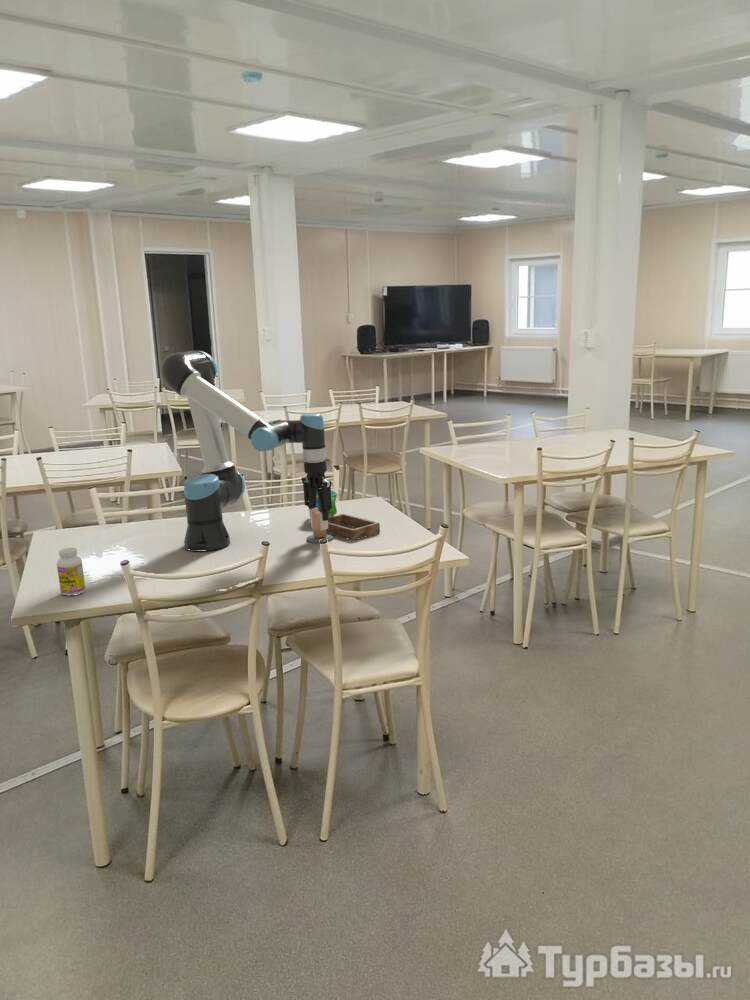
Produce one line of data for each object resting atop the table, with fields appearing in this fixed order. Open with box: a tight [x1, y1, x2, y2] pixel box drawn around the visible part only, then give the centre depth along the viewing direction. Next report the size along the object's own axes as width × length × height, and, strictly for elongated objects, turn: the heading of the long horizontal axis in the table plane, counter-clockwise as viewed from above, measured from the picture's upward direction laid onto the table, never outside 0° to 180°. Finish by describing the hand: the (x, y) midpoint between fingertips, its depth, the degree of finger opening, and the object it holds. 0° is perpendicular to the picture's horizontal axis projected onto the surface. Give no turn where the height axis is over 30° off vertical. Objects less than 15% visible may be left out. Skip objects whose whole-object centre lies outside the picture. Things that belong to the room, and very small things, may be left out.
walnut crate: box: [326, 513, 381, 541], centre depth 269 cm, size 12×20×4 cm, turn 42°
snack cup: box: [315, 490, 338, 517], centre depth 284 cm, size 16×11×10 cm
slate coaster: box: [306, 533, 334, 544], centre depth 261 cm, size 9×9×1 cm
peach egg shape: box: [312, 511, 328, 538], centre depth 260 cm, size 5×5×8 cm
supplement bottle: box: [56, 547, 86, 596], centre depth 218 cm, size 7×7×13 cm
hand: (319, 528), depth 260 cm, fingers closed on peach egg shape, 4 cm apart
